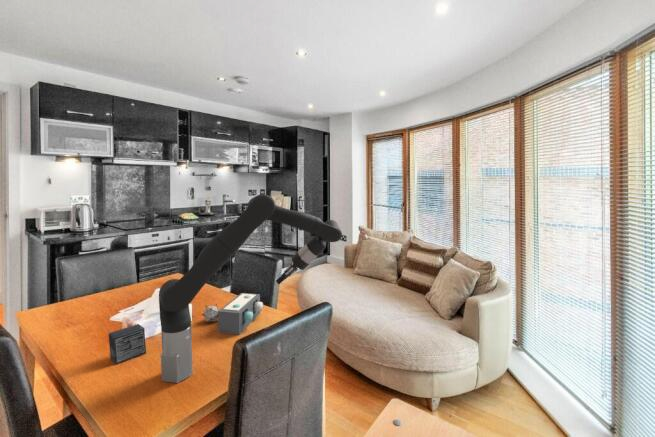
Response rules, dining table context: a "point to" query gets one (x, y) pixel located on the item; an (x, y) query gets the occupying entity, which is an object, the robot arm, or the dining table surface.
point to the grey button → (258, 306)
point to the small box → (127, 343)
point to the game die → (211, 313)
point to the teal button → (248, 316)
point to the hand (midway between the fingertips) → (277, 282)
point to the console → (237, 314)
